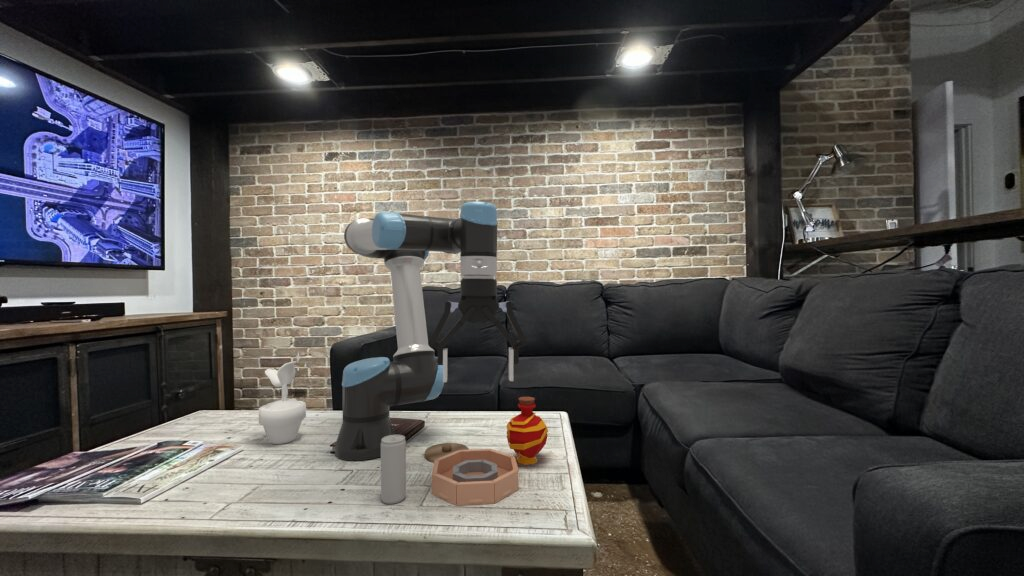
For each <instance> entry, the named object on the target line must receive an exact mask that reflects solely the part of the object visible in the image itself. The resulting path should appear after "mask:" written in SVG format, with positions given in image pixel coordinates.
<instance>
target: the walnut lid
mask: <svg viewBox="0 0 1024 576" xmlns="http://www.w3.org/2000/svg"><path fill="white" fill-rule="evenodd" d="M458 450H470V449H469V447H468V446H467V445H465V444H463V443H459V442H458V443H457V442H444V443H437V444H434V445H431V446H428V447H427V448H426V449H425V451H424V459H425V460H426V461H428V462H430V463H433V464H434V461H435V460H436V459H438V458H441V457H443V456H446V455H448V454H451V453H453V452H456V451H458Z"/></svg>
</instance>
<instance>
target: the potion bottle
mask: <svg viewBox="0 0 1024 576" xmlns="http://www.w3.org/2000/svg"><path fill="white" fill-rule="evenodd" d="M535 400H536V398H535V397H532V396H520V397H518V402H519V403H518V404H517V406H518V408H519V409H520V413H519V414H517V415H515V416H513V417H512V418H511V419H510V421H508V422H507V424H506V440H507V444H508V446H509V449H510V450H513V451H514V452H515V454H516V455H518V456H517V458H515V459H516V463H517V464H521V465H524V466H525V465H534V464H536V463H537V462H538V459H537V457H536V455H538V454H539V453H540V452H541V451H542V450H543V448H544V447H545V446H546V444H547V440H548V432H549V429H548V426H547V424H546V423H545V422H544V420H543V418H542V417H541V416H539V415H536V412H533V409H535V408H536V403H535Z"/></svg>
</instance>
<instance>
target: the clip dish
mask: <svg viewBox="0 0 1024 576" xmlns="http://www.w3.org/2000/svg"><path fill="white" fill-rule="evenodd" d="M516 459H517V458H516V457H515V456H514V455H512V454H509V453H505V452H502V451H499V450H496V449H492V448H477V449H475V448H474V449H469V450H458V451H456V452H453V453H451V454H448V455H446V456H443V457H441V458H438V459H436V460H435V461H434V463H433V466H432V471H431V495H432V496H435V497H437V498H439V499H441V500H443V501H445V502H447V503H451V504H452V505H454V506H477V505H478V506H479V505H490V504H491V505H493V504H496V503H499V502H500V501H502V500H503V499H505V498H507V497H509V496H510V495H512V494H513V493H515V492H517V491H518V490H519V467H518V462H517V460H516Z"/></svg>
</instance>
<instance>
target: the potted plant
mask: <svg viewBox="0 0 1024 576" xmlns="http://www.w3.org/2000/svg"><path fill="white" fill-rule="evenodd" d="M299 352H300V351H297V355H296V356H295V358H296V360H295V361H290V362H285V363H284V364H283V365H281V366H280V367H279V368H277V369H278V370H277V369H274V368H267V369H265V370H264V374H265V376H266V377H267V378H268V379H269V381H270V382H271V384H272V386H274V387H276V388H280V387H281V398H279V399H276V400H274V401H273V402H268V403H266V404H264V405H262V406H260V407H259V408H258V424H259V425H261V426H262V427H263V430H264V432H265V434H266V437H267V439H268V442H269V443H271V444H273V445H284V444H287V443H290V442H292V441H294V440H295V439H296V438H297V435H298V433H299V430H300V426H301V424H302V421H303V420H304V419H305V418H306V417H307V403H306V402H305V401H303V400H297V398H288V395H289V388H288V385H290V384H291V383H292V382H293V381H294V380H295V377H296V373H297V372H299V370H301V369H300V368H299V366H297V368H295V367H296V366H295V364H296V363H299V361H300V359H302V356H300V353H299ZM303 367H304V369H306V368H307V367H308V364H307V363H306V362H305V363H304V365H303ZM296 370H297V371H296Z"/></svg>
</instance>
